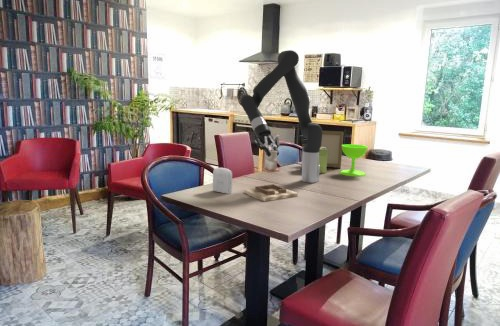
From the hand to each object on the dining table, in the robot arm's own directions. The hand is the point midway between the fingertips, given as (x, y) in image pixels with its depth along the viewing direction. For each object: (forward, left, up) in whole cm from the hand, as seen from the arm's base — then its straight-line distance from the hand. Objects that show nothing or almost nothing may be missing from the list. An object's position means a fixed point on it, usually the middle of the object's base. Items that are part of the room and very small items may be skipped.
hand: (273, 155), depth 178 cm
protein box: (-59, -36, -20) cm, 72 cm away
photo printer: (+19, -17, -20) cm, 32 cm away
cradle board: (0, -2, -20) cm, 20 cm away
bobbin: (0, -2, -8) cm, 8 cm away
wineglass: (-76, -18, -20) cm, 81 cm away
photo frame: (-79, -46, -20) cm, 93 cm away
